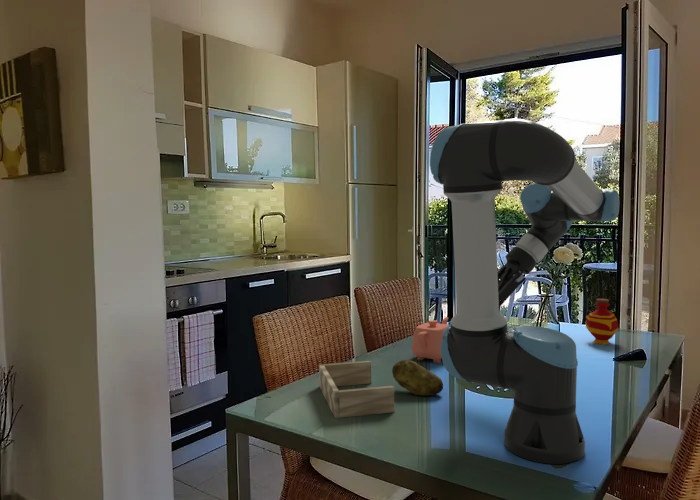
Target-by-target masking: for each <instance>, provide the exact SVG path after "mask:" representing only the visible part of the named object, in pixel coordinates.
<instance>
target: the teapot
mask: <svg viewBox="0 0 700 500" xmlns="http://www.w3.org/2000/svg"><path fill="white" fill-rule="evenodd" d="M448 321H449V317H448V316H446V317H444V318H443V319H442V321H441V323H439V322H438V320H436V319H431V320H428V322H424V323H422V324H419V325H417V326H416V327H415V331H414V333H413V337H412V341H411V352H412V355H413V356H415V357H416V360H418V361H423V360H425V359H431V360H432V361H433V363H435V364H440V363H442V357H441V341H443V338H442V335H443V333H444V331H445V329H446V328H447V327H448V326H449V325H450V324H448Z"/></svg>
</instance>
